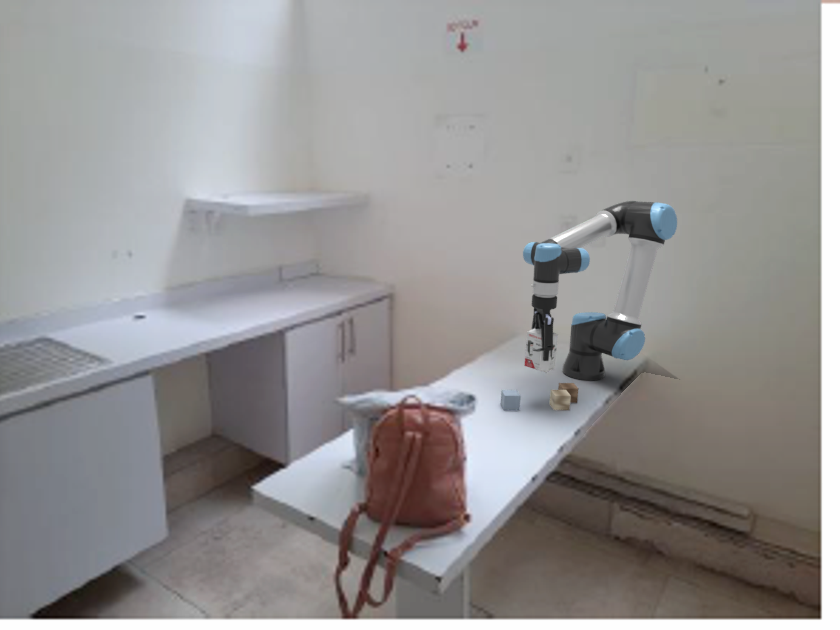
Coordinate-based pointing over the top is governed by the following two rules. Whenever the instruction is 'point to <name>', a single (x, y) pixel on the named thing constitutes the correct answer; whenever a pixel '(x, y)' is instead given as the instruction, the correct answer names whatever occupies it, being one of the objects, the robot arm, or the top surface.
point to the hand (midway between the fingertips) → (539, 364)
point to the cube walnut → (570, 390)
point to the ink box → (538, 350)
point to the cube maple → (560, 400)
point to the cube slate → (510, 400)
